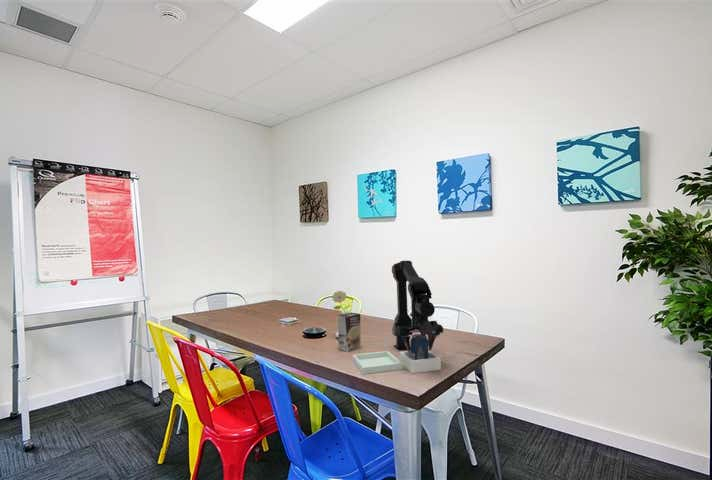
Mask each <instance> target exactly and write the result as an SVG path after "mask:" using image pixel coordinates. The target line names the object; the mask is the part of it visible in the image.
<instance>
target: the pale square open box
mask: <svg viewBox="0 0 712 480" xmlns="http://www.w3.org/2000/svg"><path fill="white" fill-rule="evenodd" d="M428 354H429V358H428V359H420V360H413V359H411V350H410V352H408V350H407V351H405V350H404V351H399V361H400V362H401V363H402V367H403V366H404V368H405V369H407V370H408V371H409V372H410V373H411V374H417V373H427V372H433V371H441V370H442V362H441V361H442V359H441V357H440V356H438V355H436V354H435V353H434V352H432V351H431V350H429V349H428Z"/></svg>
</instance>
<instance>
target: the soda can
mask: <svg viewBox="0 0 712 480" xmlns="http://www.w3.org/2000/svg"><path fill="white" fill-rule="evenodd" d="M410 347H411V349H410V351H411V359H413V360H420V359H428V358H429V354H428V350H429V346H428V335H421V333H420V334H412V335H411V337H410Z"/></svg>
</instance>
